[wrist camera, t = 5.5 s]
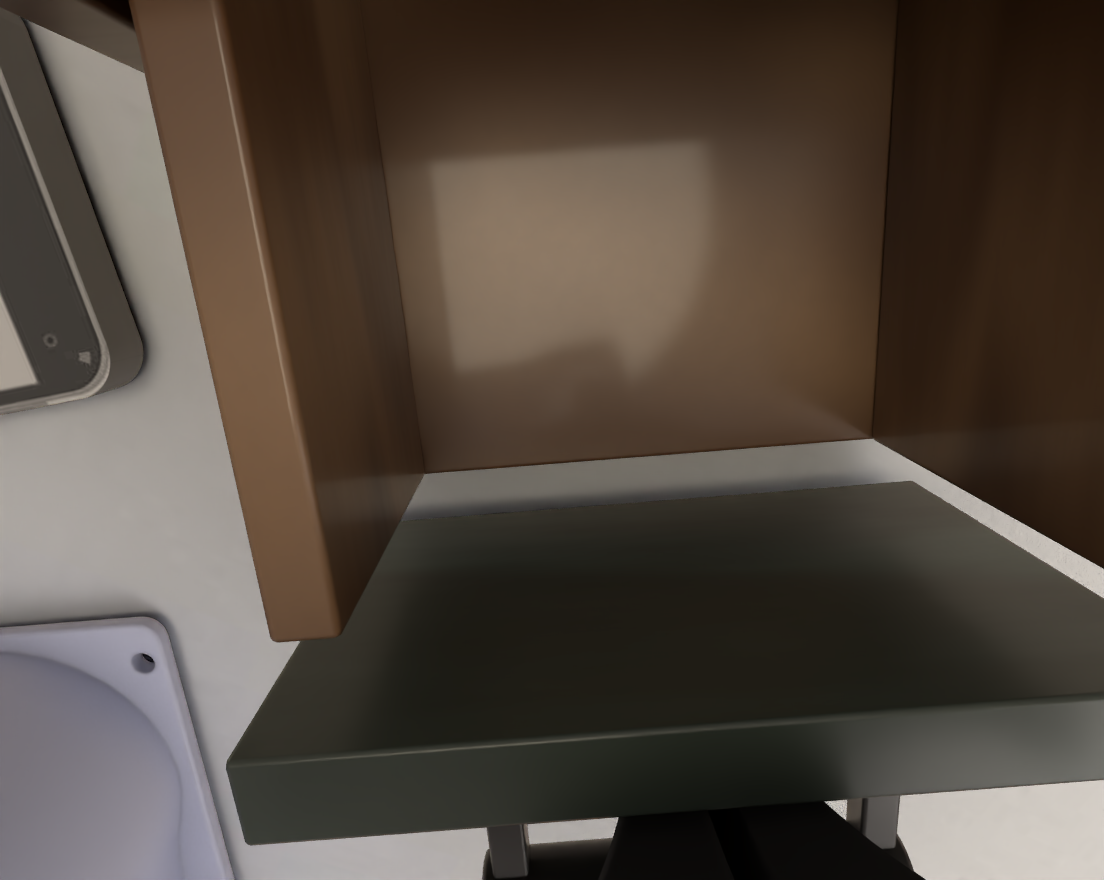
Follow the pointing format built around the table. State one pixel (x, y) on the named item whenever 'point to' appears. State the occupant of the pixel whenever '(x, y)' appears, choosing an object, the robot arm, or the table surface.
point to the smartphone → (51, 253)
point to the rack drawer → (648, 397)
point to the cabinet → (86, 24)
